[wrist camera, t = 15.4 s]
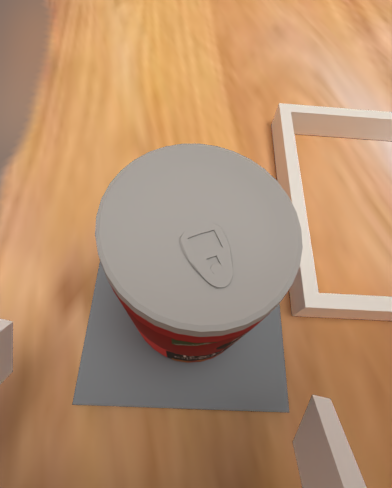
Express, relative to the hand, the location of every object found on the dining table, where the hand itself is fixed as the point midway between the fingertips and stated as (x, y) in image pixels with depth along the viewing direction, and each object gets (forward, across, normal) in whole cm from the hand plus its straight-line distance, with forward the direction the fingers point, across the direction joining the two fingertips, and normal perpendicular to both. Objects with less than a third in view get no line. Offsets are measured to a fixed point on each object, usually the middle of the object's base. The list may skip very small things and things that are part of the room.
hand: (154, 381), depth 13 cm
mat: (+8, 0, -1) cm, 9 cm away
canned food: (+8, 0, -1) cm, 8 cm away
